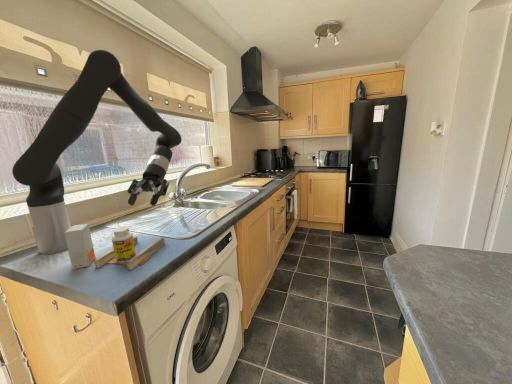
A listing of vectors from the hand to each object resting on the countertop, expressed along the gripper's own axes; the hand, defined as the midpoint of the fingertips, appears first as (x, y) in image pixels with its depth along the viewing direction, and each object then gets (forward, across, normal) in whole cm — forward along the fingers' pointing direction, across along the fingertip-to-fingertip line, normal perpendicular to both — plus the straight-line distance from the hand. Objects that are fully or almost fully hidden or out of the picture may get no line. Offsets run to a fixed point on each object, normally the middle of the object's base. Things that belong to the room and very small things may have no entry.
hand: (141, 204), depth 74 cm
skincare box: (+21, -12, +1) cm, 24 cm away
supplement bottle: (+18, 0, +4) cm, 19 cm away
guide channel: (+16, 0, +6) cm, 17 cm away
